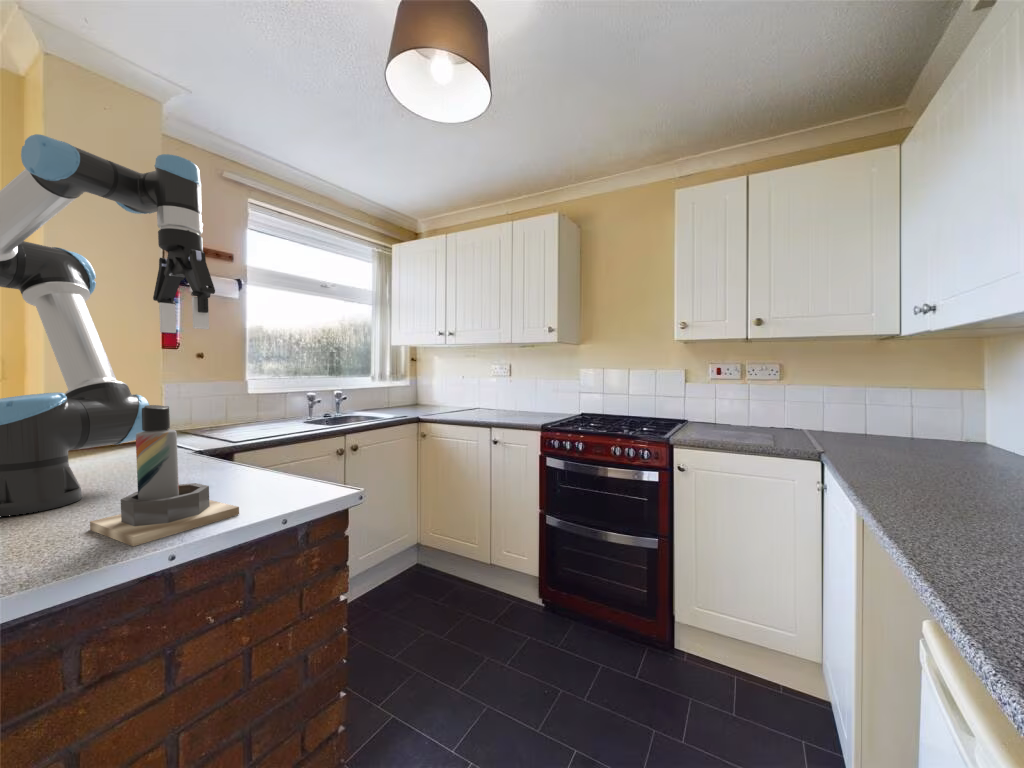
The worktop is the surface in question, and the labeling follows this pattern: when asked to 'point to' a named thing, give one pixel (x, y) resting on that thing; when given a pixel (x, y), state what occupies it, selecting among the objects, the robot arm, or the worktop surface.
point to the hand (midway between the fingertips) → (184, 330)
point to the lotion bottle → (156, 455)
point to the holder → (163, 515)
